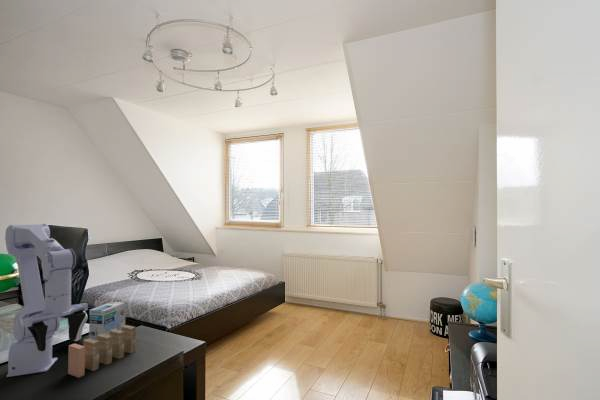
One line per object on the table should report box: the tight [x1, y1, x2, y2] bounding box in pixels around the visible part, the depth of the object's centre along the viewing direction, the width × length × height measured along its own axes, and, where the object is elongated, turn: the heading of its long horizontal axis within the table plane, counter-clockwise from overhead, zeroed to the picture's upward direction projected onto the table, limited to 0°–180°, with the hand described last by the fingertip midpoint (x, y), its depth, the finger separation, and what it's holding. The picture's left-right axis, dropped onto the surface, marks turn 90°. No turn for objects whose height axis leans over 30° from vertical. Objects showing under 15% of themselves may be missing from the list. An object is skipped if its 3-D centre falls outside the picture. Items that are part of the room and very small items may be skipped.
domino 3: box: [97, 334, 113, 365], centre depth 96 cm, size 2×5×8 cm, turn 65°
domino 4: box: [109, 329, 125, 360], centre depth 100 cm, size 2×5×8 cm, turn 65°
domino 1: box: [67, 342, 86, 378], centre depth 89 cm, size 2×5×8 cm, turn 65°
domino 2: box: [82, 337, 100, 371], centre depth 92 cm, size 2×5×8 cm, turn 65°
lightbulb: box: [66, 311, 88, 342], centre depth 111 cm, size 6×6×11 cm
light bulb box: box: [88, 301, 126, 340], centre depth 117 cm, size 11×7×11 cm, turn 168°
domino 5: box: [121, 324, 136, 354], centre depth 103 cm, size 2×5×8 cm, turn 65°
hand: (57, 344), depth 84 cm, fingers open, 7 cm apart
